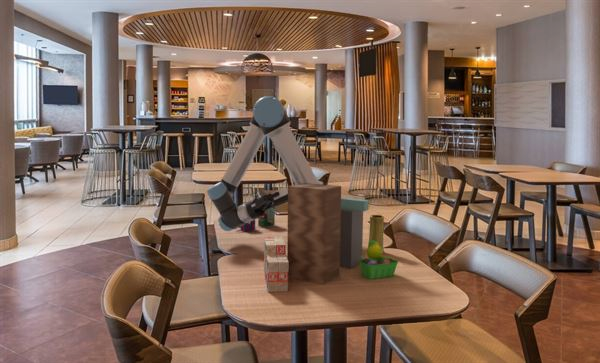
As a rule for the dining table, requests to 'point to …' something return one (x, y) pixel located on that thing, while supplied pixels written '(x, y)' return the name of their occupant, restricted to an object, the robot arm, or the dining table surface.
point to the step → (351, 238)
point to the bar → (354, 204)
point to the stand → (314, 232)
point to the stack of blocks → (275, 264)
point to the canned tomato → (267, 218)
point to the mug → (248, 226)
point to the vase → (376, 229)
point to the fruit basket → (377, 262)
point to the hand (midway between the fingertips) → (295, 189)
